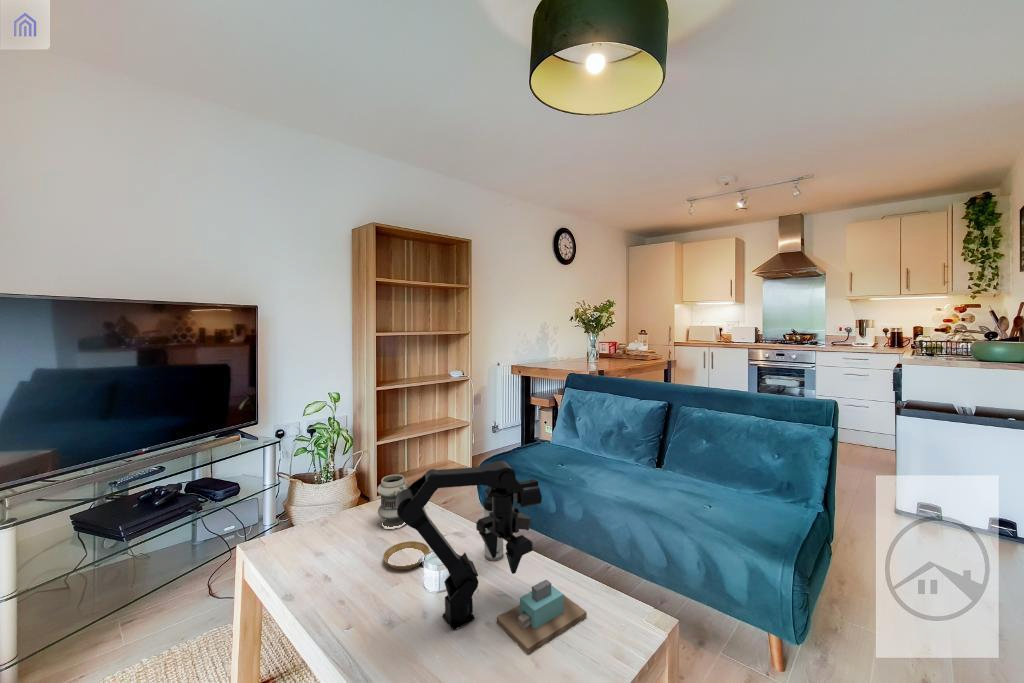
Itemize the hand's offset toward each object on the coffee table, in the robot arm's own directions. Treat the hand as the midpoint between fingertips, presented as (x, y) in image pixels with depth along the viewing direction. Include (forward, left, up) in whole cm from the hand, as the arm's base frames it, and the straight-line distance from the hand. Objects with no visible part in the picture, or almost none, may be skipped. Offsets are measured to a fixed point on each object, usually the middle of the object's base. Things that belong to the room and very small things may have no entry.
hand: (503, 565), depth 115 cm
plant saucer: (-12, +38, -12) cm, 42 cm away
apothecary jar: (-6, +64, -12) cm, 65 cm away
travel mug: (+12, +22, -12) cm, 28 cm away
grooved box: (+5, -10, -10) cm, 15 cm away
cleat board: (+5, -10, -12) cm, 16 cm away
